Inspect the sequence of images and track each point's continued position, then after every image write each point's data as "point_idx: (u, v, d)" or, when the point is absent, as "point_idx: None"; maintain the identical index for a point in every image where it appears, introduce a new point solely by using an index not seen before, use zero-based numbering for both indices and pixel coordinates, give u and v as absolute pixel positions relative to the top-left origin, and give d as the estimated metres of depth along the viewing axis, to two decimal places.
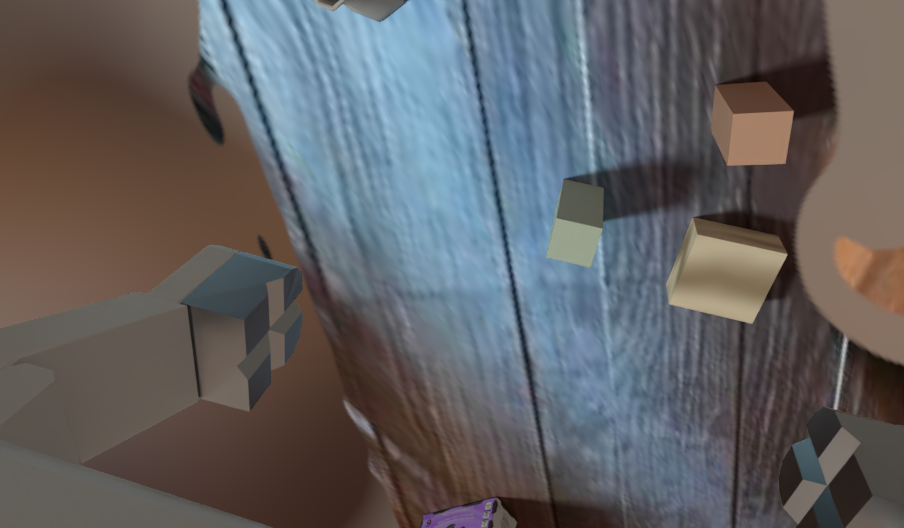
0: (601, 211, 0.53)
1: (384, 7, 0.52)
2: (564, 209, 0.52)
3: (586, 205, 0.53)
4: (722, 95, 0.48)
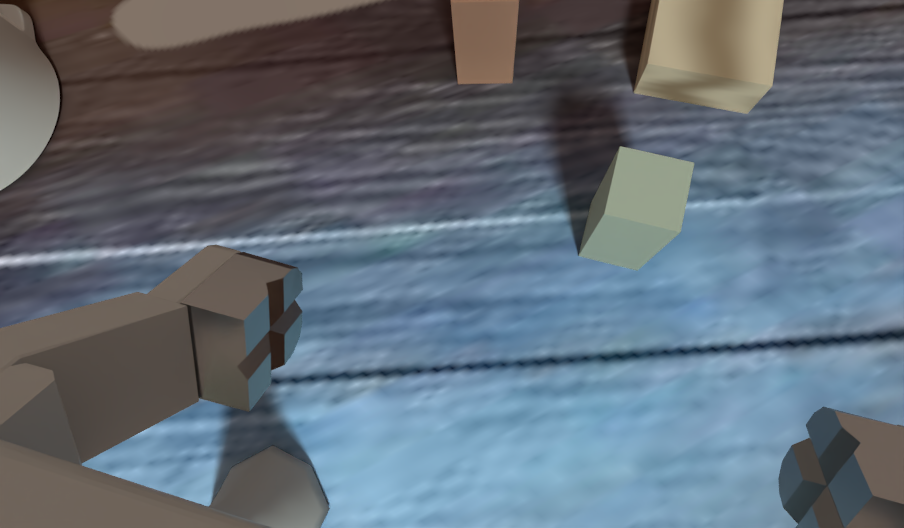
0: (606, 172, 0.35)
1: (302, 490, 0.35)
2: (599, 216, 0.33)
3: (600, 197, 0.35)
4: (455, 55, 0.40)
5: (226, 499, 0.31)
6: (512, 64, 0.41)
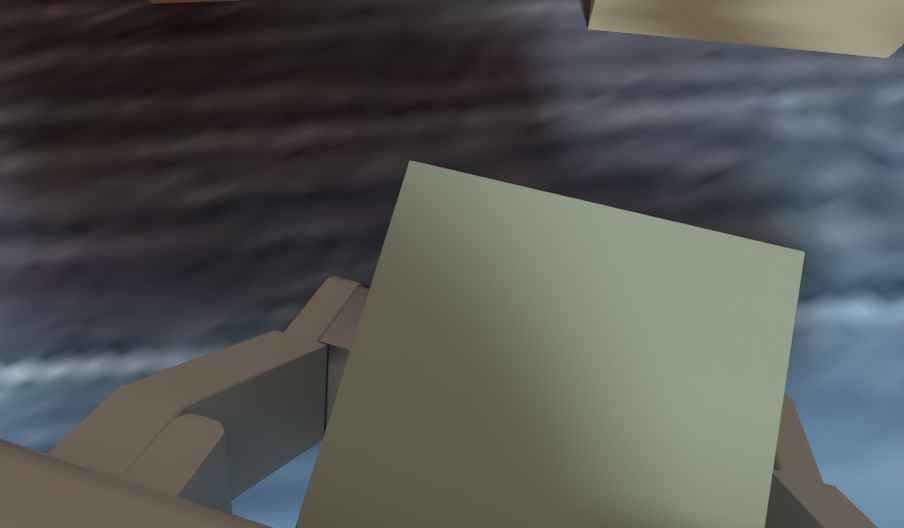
0: None
1: None
2: None
3: None
4: None
5: None
6: None
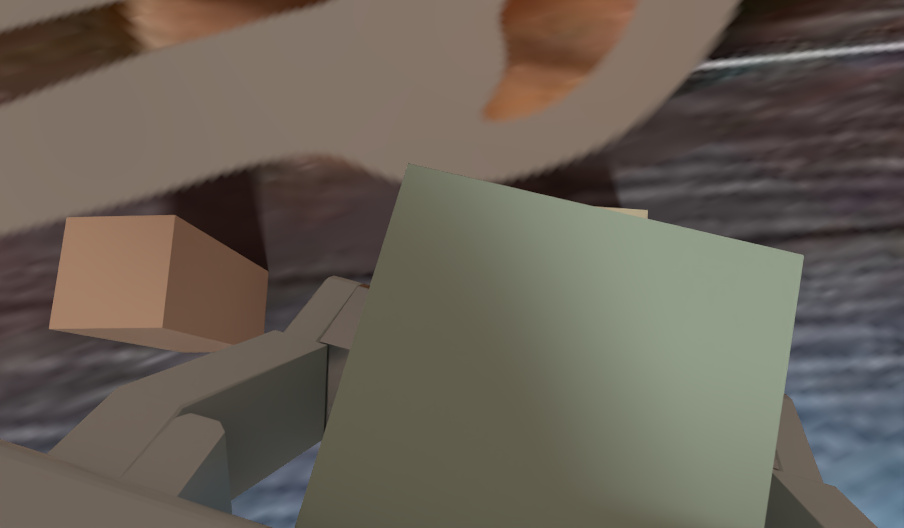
0: None
1: None
2: None
3: None
4: (141, 343, 0.25)
5: None
6: None
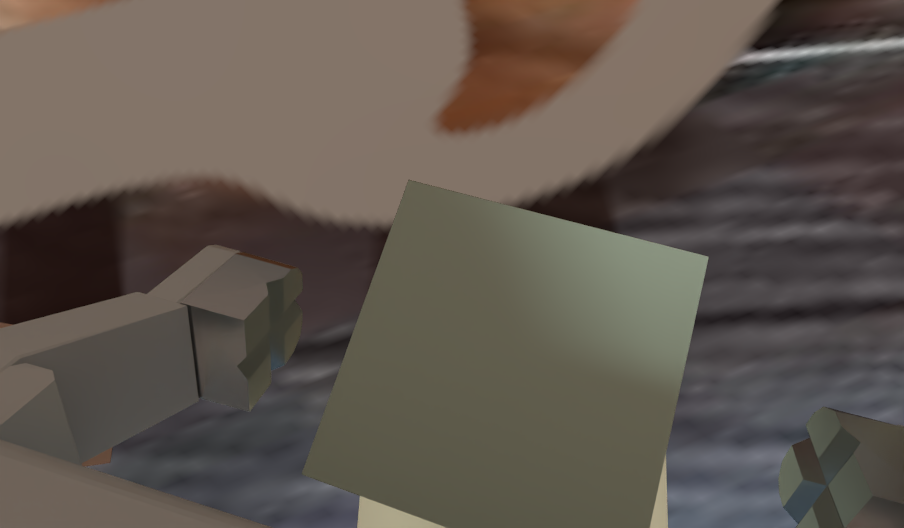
0: None
1: None
2: None
3: None
4: None
5: None
6: None
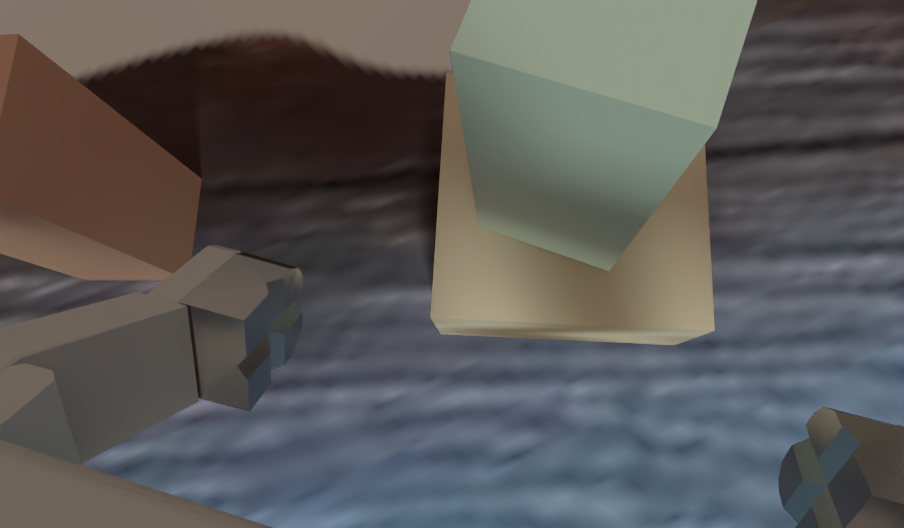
0: None
1: None
2: None
3: None
4: (9, 254, 0.18)
5: None
6: (149, 265, 0.19)
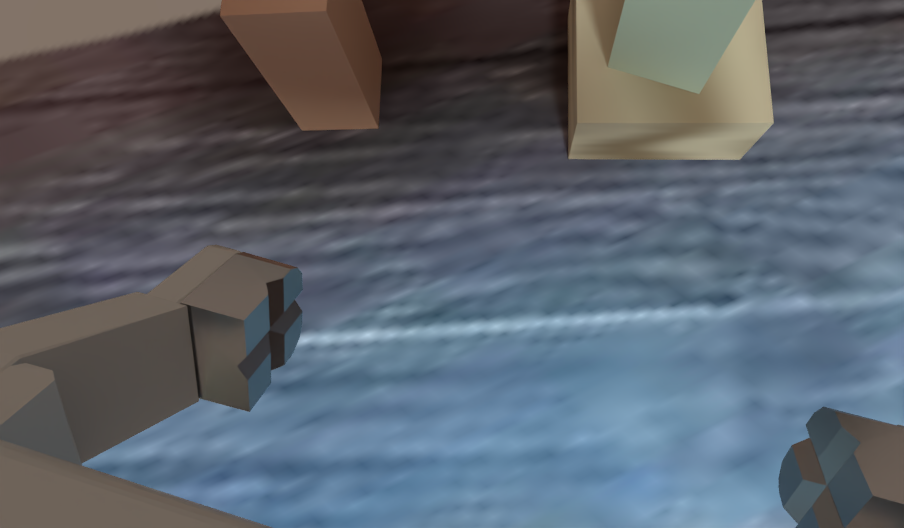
0: None
1: None
2: None
3: None
4: (276, 92, 0.27)
5: None
6: (365, 104, 0.27)
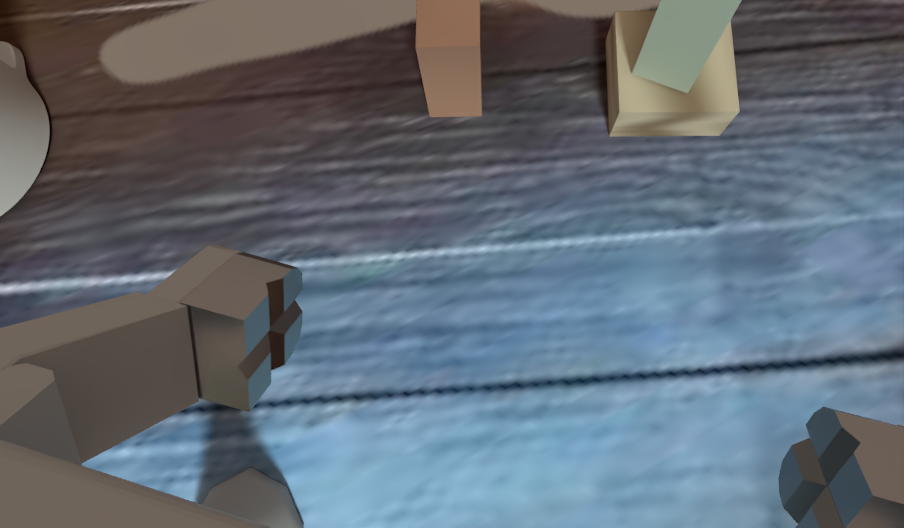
0: None
1: (277, 511, 0.37)
2: None
3: None
4: (425, 92, 0.42)
5: None
6: (480, 100, 0.42)
